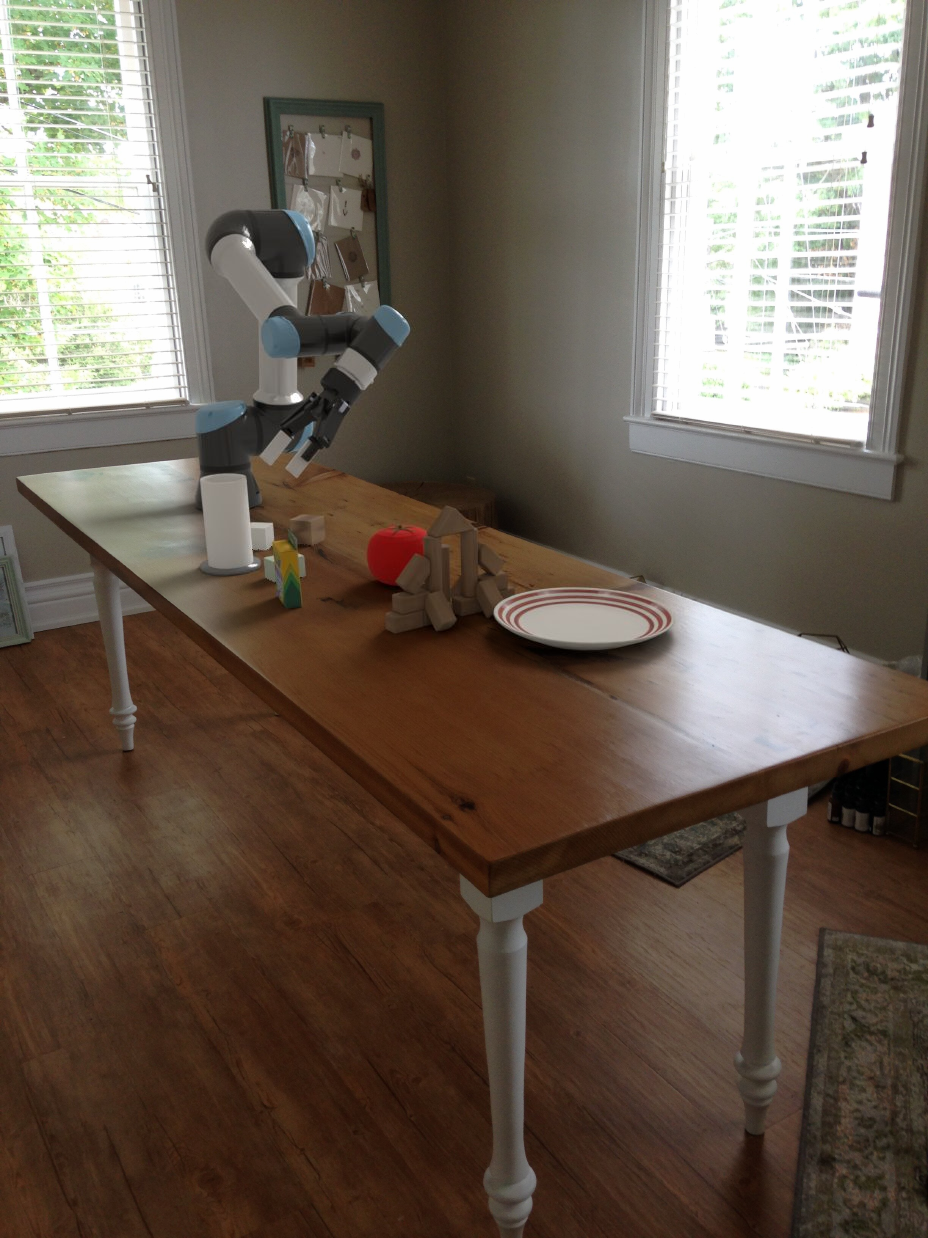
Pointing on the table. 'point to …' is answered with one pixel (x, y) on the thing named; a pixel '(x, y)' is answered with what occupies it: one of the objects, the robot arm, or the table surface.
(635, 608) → the dinner plate
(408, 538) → the tomato
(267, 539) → the off-white plastic block
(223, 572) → the coaster
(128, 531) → the table surface
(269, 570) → the sage painted block
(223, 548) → the cup
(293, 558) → the crayon box
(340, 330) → the robot arm
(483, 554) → the wooden blocks
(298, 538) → the walnut block
